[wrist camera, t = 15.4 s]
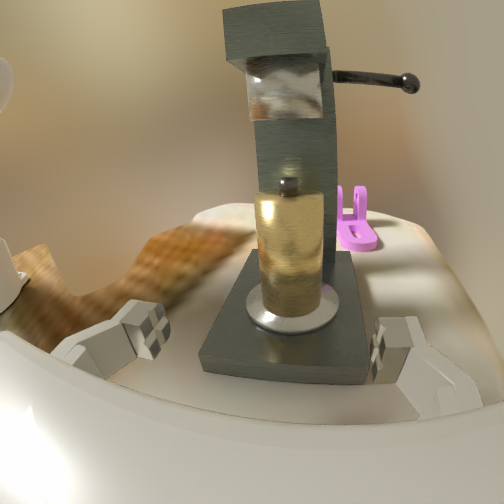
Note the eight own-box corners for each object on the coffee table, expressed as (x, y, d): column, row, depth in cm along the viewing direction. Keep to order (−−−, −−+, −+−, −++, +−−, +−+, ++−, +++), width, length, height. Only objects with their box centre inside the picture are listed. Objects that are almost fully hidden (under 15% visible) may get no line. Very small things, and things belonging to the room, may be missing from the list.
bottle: (253, 311, 22) (240, 185, 18) (273, 280, 26) (267, 172, 22) (313, 322, 20) (315, 186, 16) (325, 287, 24) (327, 173, 20)
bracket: (330, 221, 48) (331, 183, 45) (360, 221, 47) (361, 184, 44) (343, 253, 36) (346, 203, 33) (381, 252, 35) (385, 204, 32)
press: (452, 377, 15) (500, 14, 4) (203, 371, 19) (147, 2, 9) (405, 267, 31) (412, 62, 20) (253, 263, 35) (236, 60, 25)
